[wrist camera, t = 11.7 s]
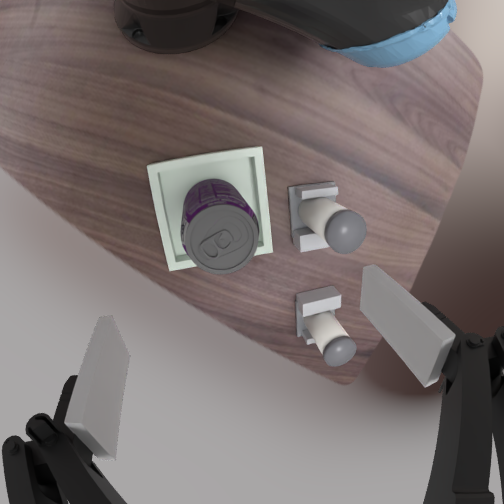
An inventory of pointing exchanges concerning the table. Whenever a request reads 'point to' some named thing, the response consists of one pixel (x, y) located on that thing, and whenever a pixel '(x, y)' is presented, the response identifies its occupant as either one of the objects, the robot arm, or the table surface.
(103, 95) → the table surface
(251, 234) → the beverage can
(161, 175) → the tray
